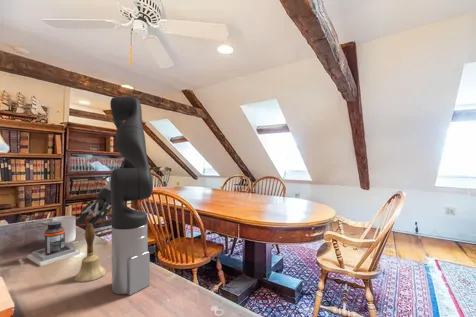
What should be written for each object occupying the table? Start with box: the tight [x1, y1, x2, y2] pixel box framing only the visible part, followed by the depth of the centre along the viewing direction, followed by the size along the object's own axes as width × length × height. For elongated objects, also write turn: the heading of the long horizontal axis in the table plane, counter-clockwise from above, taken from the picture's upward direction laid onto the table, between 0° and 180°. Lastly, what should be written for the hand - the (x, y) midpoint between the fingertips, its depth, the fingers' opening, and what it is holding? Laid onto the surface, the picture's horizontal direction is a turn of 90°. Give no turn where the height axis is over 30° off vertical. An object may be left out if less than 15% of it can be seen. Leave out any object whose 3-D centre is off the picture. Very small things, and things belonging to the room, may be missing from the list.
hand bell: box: [74, 223, 107, 283], centre depth 74 cm, size 8×8×16 cm
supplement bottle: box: [44, 221, 66, 256], centre depth 89 cm, size 6×6×11 cm
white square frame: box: [27, 243, 81, 267], centre depth 89 cm, size 12×12×2 cm
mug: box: [51, 215, 77, 244], centre depth 105 cm, size 12×8×10 cm
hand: (83, 224), depth 97 cm, fingers open, 8 cm apart
